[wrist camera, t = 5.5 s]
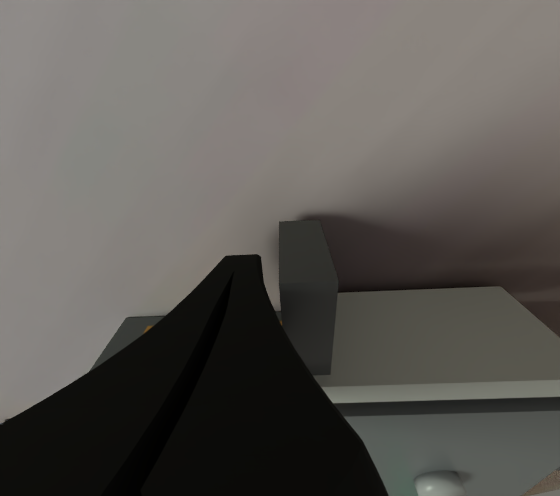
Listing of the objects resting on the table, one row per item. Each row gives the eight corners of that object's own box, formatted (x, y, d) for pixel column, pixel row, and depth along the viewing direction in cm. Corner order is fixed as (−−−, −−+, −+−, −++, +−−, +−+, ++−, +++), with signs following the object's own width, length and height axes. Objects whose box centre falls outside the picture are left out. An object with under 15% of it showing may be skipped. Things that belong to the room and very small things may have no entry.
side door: (284, 310, 12) (287, 404, 9) (279, 217, 10) (279, 294, 6) (492, 302, 12) (587, 395, 8) (543, 204, 9) (715, 276, 6)
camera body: (183, 427, 19) (152, 536, 15) (125, 316, 13) (36, 443, 8) (473, 419, 19) (539, 529, 14) (557, 299, 13) (729, 425, 8)
